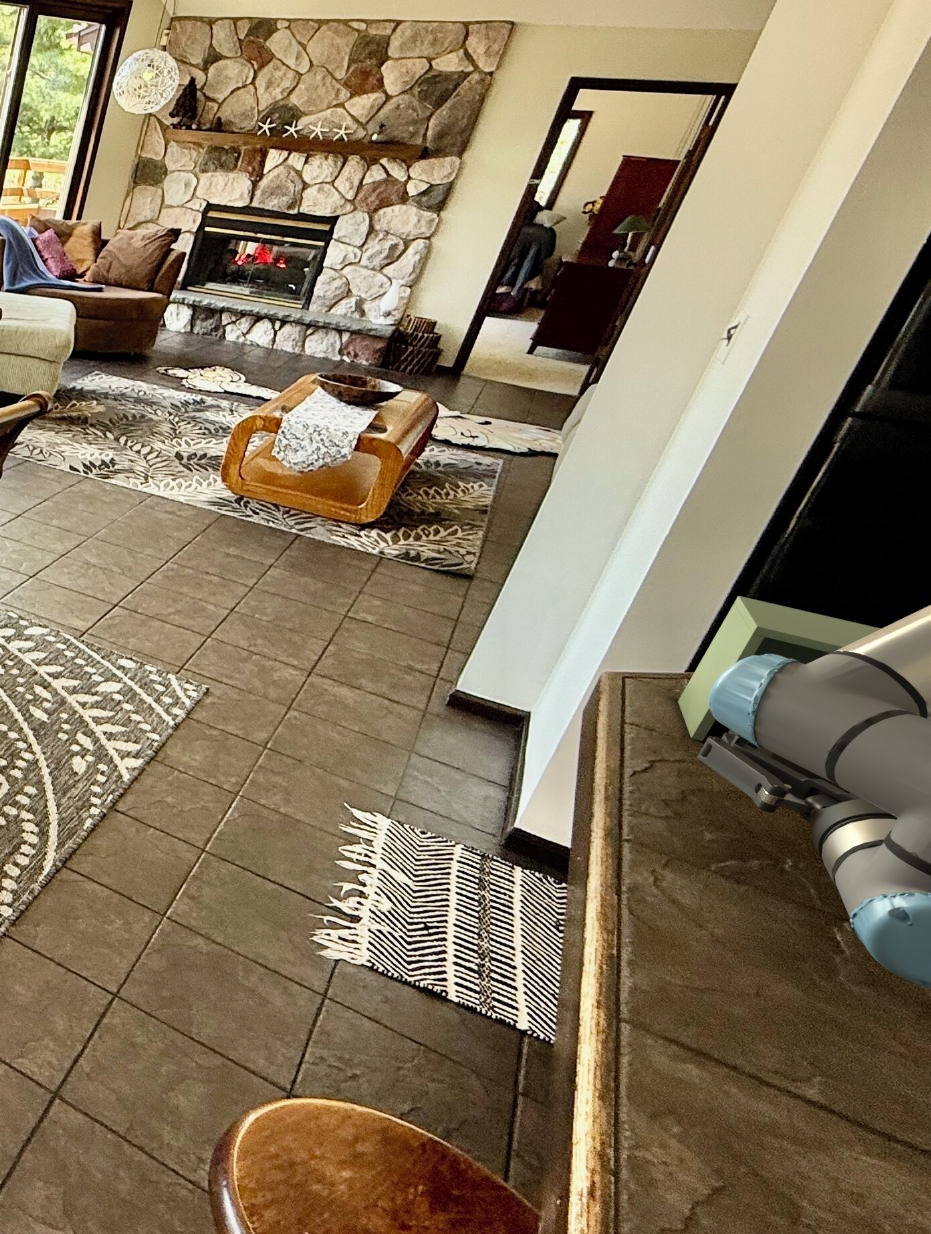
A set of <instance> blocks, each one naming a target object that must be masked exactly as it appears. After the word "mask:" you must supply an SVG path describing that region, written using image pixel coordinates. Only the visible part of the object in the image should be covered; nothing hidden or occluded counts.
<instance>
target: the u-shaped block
mask: <svg viewBox="0 0 931 1234" xmlns="http://www.w3.org/2000/svg"><path fill="white" fill-rule="evenodd" d="M880 629H881V628H879V627H875V626H871V625H867V624H862V623H858V622H853V621H849V620H846V619H845V620H844V619H840V618H838V617H837V618H836V617H831V616H828V615H823V614H819V613H814V612H810V611H806V610H801V609H798V608H794V607H793V608H792V607H788V606H784V605H780V604H776V603H771V602H767V601H763V600H758V599H753V598H749V597H745V596H740V595H738V596H737V597H736V599H735V601H734V603H733V604H732V606H731V607H730V610H729V611H728V613H727V615H726V617H725V618H724V620H723V622H722V623H721V626H720V627H719V629H718V630H717V632H716V634H715V636H714V637H713V639H712V641H711V643H710V644H709V647H708V648H707V650H706V652H705V654H704V655H703V657H702V658H701V660H700V662H699V664H698V666H697V667H696V669H695V671H694V672H693V675H692V676H691V678H690V680H689V681H688V682H687V684H686V686H685V688H684V690H683V692H682V693H681V695H680V696H679V698H678V700H677V703H678V706H679V708H680V711H681V712H682V717H683V719H684V722H685V725H686V729H687V730H688V733H689V735H690V738H691V739H693V740H696V741H700V742H704V740H705V738H706V737H707V734H708V733H709V731H710V729H711V728H712V726H713V725H714V723H715V721H717V720H716V719H715V718H714V716H713V715H712V713H711V711H710V708H709V706H710V705H709V694H710V691H711V689H712V687H713V685H714V683H715V681H716V680H717V679H718V677H719V676H720V675H721V674H722V673H723V672H724V671H725V670H726V669H728V668H729V667H730V666H732V665H733V664H735V663H736V662H738V661H740V660H742V659H744V658H747V657H750V656H754V655H756V656H761V655H765V654H775V655H779V656H782V657H785V658H787V659H795V660H797V661H799V662H800V663H802V664H808V663H810V662H813V661H815V660H816V659H819V658H821V657H823V656H825V655H827V654H829V653H831V652H835V651H837V650H839V649H841V648H843V647H845V646H847V645H849V644H851V643H853V642H855V641H857V640H859V639H861V638H864V637H866V636H868V635H870V634H872V633H874V632H876V631H878V630H880Z"/></svg>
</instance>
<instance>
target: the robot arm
mask: <svg viewBox="0 0 931 1234" xmlns="http://www.w3.org/2000/svg"><path fill="white" fill-rule="evenodd" d="M709 705H710V706H709V708H710V711H711V713H712V715H713V716H714V718H715V719H716V720H715V721H717V722H718V723H720V724H721V725H723V726H724V727H726V728H728V729H729V731H728V732H724V733H723V735H722V737H721V738H720V737H717V736H710V735H709V736H708V737H707V739H706V740H705V742H704V744H703V745H702V747H701V749H700V750H699V753H698V754H697V755H696V759H698V760H699V761H700V762H702V763H703V764H704V765H706V766H707V767H709V768H710V769H711V770H713V771H714V772H715V773H716V774H718V775H719V776H720V777H722V778H723V779H724V780H726V781H727V782H728V783H730V784H731V785H733V786H734V787H735V788H737V789H738V790H739V791H741V792H742V793H744V794H745V795H746V796H748V797H749V798H750V799H751V800H752V802H753V803H754V805H755V806H756V807H757V808H758V809H759V810H761V811H763V812H766V813H769V814H770V813H771V814H774V813H776V811H777V809H779V808H782V809H785V810H786V809H787V810H790V811H793V812H795V813H797V814H798V815H799V816H800V817H801V818H802V819H803V820H805V821H806V822H808V823H809V824H810V836H811V840H812V843H813V845H814V847H815V849H816V852H817V854H818V856H819V858H820V860H821V861H822V863H823V865H824V867H825V869H826V870H827V873H828V875H829V877H830V880H831V881H832V883H833V885H834V887H835V889H836V892H837V893H838V894H839V896H840V897H841V901H842V902H843V905H844V907H845V909H846V912H847V914H848V917H849V922H850V927H851V930H852V932H853V934H854V935H855V936H856V937H857V938H858V939H859V941H860V942H862V944H863V945H864V947H865V948H866V950H867V951H868V953H869V954H870V955H871V956H872V958H873V959H874V960H875V961H876V962H877V963H878V964H879V965H880V966H882V967H883V968H884V969H885V970H887V971H889V972H890V973H891V974H893V975H895V976H896V977H899V978H900V979H903V980H905V981H907V982H909V983H911V984H914V985H916V986H920V987H923V988H927V989H931V604H930V605H928V606H926V607H923V608H922V609H919V610H917V611H916V612H913V613H911V614H909V615H907V616H905V617H903V618H901V619H899V620H897V621H894V622H893V623H891V624H889V625H887V626H884V627H882V628H880V630H878V631H876V632H874V633H872V634H870V635H868V636H866V637H864V638H861V639H859V640H857V641H855V642H853V643H851V644H849V645H847V646H845V647H843V648H841V649H839V650H837V651H835V652H831V653H829V654H827V655H825V656H823V657H821V658H819V659H816V660H815V661H813V662H810V663H808V664H802V663H800V662H799V661H797V660H795V659H787V658H785V657H782V656H779V655H775V654H765V655H761V656H756V655H754V656H750V657H747V658H744V659H742V660H740V661H738V662H736V663H735V664H733V665H732V666H730V667H729V668H728V669H726V670H725V671H724V672H723V673H722V674H721V675H720V676H719V677H718V679H717V680H716V681H715V683H714V685H713V687H712V689H711V691H710V694H709ZM757 747H759V748H763V749H767V750H769V751H771V752H773V753H775V754H777V755H779V756H781V757H783V758H785V759H787V760H789V761H791V762H793V763H795V764H797V765H799V766H801V767H803V768H805V769H807V770H809V771H811V772H813V773H815V774H817V775H819V776H821V777H823V778H825V779H827V780H829V781H831V782H832V783H833V785H832V784H830V783H828V782H826V781H824V780H821V779H809V778H807V777H805V776H804V775H802V774H800V773H798V772H796V771H794V770H793V769H791V768H789V767H787V766H785V765H783V764H782V763H780V762H778V761H776V760H774V759H772V758H770V757H769V756H767V755H765V754H763V753H761V752H759V751H758V750H756V749H757ZM837 786H838V787H837ZM821 791H822V792H824V793H826V794H824V795H819V793H820V792H821Z"/></svg>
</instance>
